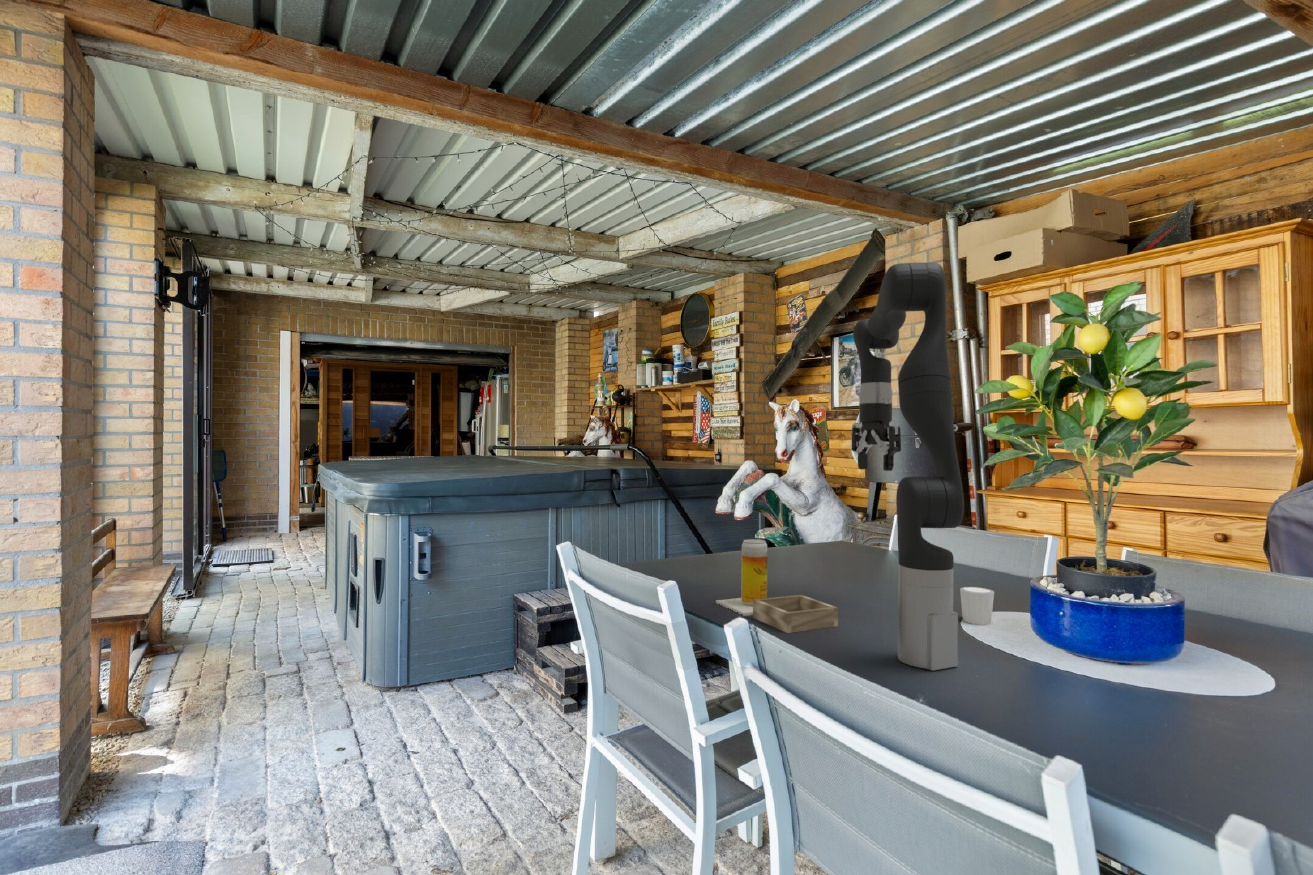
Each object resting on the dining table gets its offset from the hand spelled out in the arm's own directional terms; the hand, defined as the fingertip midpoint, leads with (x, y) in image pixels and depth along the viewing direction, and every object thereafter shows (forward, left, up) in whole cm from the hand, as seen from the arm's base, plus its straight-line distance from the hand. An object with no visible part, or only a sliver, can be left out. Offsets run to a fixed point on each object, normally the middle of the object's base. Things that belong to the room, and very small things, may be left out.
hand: (875, 469), depth 162 cm
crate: (-4, +26, -33) cm, 42 cm away
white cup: (-19, -12, -33) cm, 40 cm away
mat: (+11, +27, -33) cm, 44 cm away
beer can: (+11, +27, -32) cm, 43 cm away
